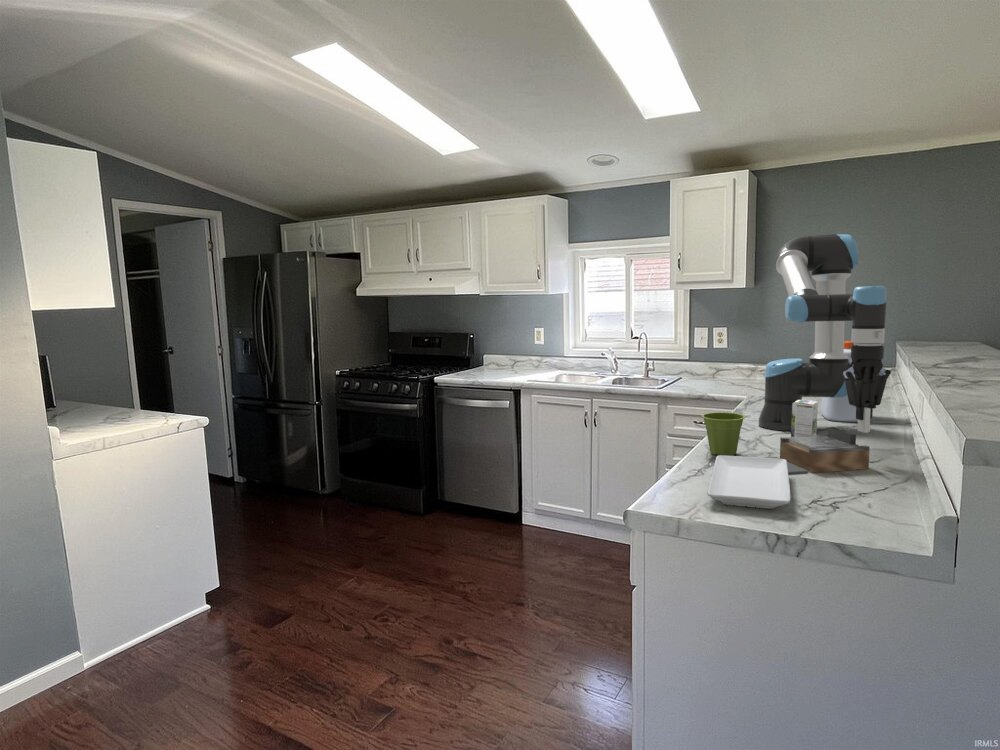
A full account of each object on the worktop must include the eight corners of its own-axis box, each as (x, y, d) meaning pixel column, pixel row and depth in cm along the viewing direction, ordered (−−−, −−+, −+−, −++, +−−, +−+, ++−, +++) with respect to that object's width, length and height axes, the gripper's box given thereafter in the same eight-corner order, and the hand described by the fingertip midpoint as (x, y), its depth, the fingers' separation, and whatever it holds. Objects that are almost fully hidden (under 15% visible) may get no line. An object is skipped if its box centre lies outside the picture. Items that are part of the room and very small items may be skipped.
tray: (705, 507, 131) (705, 492, 131) (716, 466, 160) (716, 453, 159) (791, 517, 125) (791, 501, 124) (786, 471, 153) (786, 458, 152)
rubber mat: (776, 458, 168) (776, 456, 168) (807, 473, 154) (807, 470, 154) (722, 462, 166) (722, 460, 166) (748, 476, 152) (749, 474, 152)
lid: (830, 439, 167) (830, 426, 167) (858, 449, 156) (858, 435, 156) (786, 442, 166) (787, 428, 165) (811, 452, 155) (812, 437, 155)
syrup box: (794, 446, 181) (796, 399, 179) (816, 449, 177) (818, 400, 175) (789, 450, 176) (791, 401, 174) (811, 453, 173) (813, 403, 171)
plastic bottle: (827, 421, 213) (830, 343, 209) (818, 413, 227) (821, 340, 224) (875, 423, 208) (879, 343, 205) (863, 414, 223) (867, 339, 219)
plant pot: (724, 446, 183) (725, 410, 181) (753, 455, 172) (754, 417, 170) (692, 451, 179) (693, 414, 177) (720, 460, 168) (721, 421, 166)
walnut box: (832, 455, 170) (833, 434, 169) (868, 468, 156) (869, 446, 155) (779, 458, 168) (780, 437, 167) (811, 472, 154) (812, 450, 153)
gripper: (854, 346, 155) (850, 435, 158) (900, 344, 156) (896, 433, 159) (835, 344, 162) (831, 429, 165) (879, 342, 164) (875, 427, 166)
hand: (863, 431), depth 162 cm, fingers closed
